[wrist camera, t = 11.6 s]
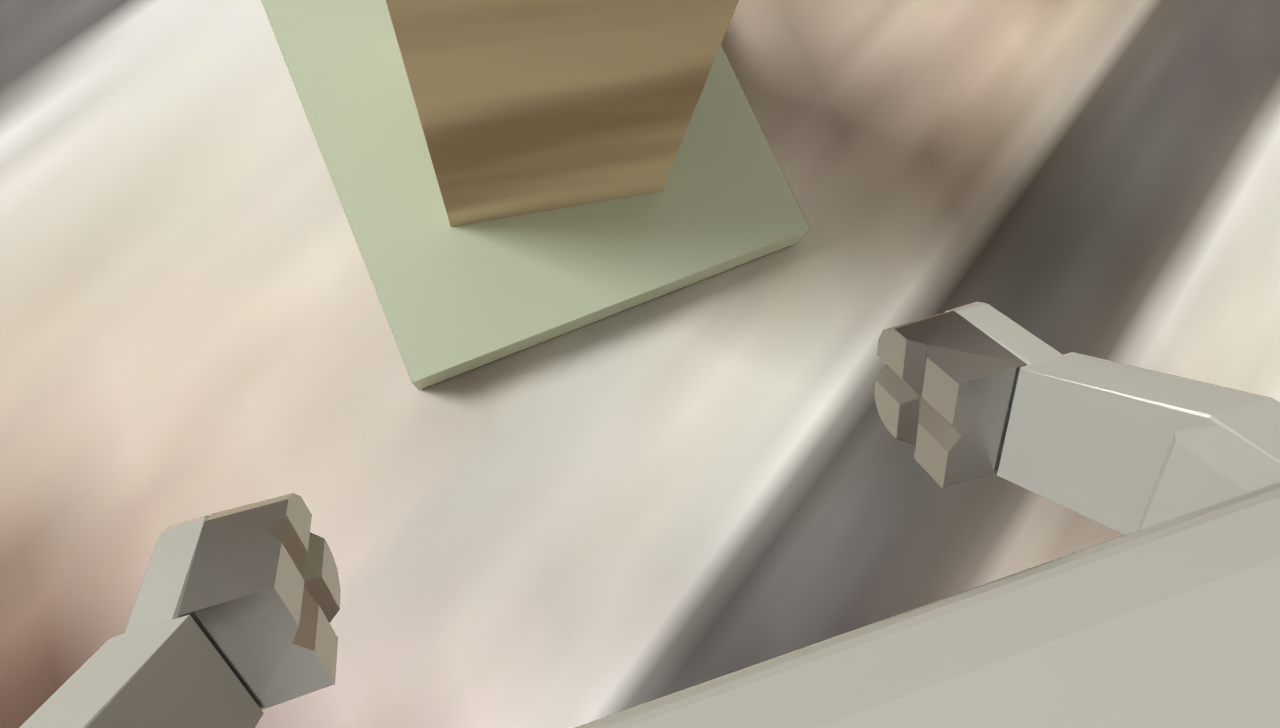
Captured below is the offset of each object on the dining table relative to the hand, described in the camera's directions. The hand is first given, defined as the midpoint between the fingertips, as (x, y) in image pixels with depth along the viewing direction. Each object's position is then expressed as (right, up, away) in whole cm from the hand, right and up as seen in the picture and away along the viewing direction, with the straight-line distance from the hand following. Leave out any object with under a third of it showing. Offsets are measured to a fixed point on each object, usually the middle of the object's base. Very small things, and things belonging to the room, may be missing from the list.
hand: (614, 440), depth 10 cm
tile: (-2, +7, +8) cm, 11 cm away
